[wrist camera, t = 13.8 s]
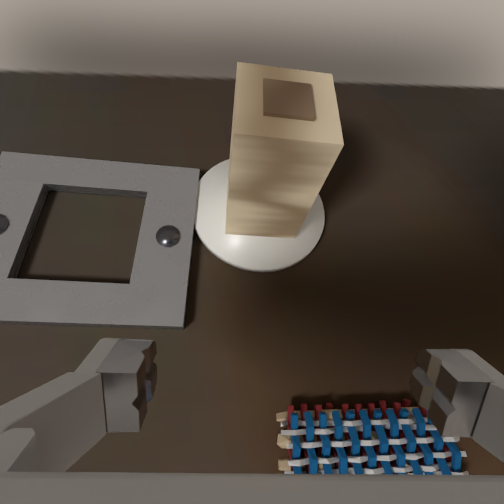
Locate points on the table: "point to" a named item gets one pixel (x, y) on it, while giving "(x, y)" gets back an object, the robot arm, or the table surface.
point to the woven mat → (366, 441)
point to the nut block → (279, 148)
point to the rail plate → (147, 252)
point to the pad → (243, 246)
